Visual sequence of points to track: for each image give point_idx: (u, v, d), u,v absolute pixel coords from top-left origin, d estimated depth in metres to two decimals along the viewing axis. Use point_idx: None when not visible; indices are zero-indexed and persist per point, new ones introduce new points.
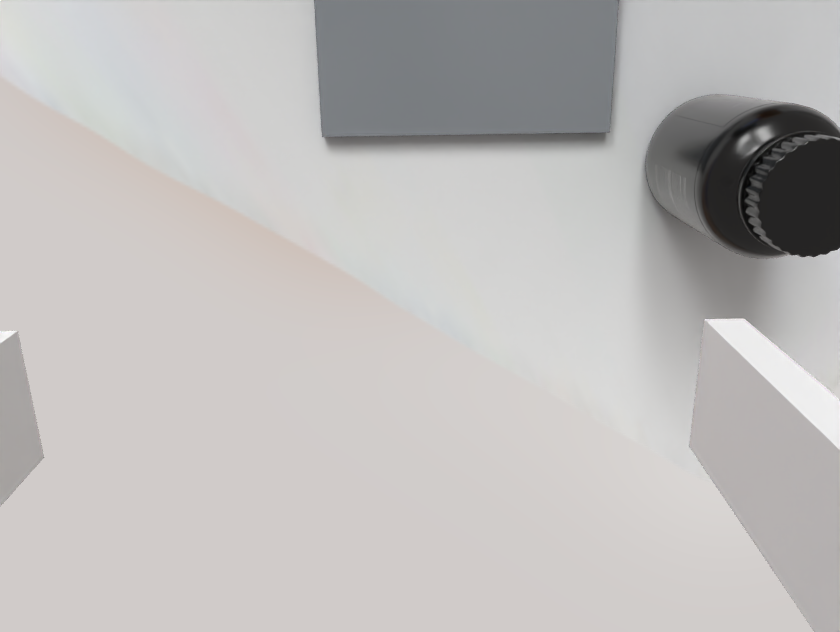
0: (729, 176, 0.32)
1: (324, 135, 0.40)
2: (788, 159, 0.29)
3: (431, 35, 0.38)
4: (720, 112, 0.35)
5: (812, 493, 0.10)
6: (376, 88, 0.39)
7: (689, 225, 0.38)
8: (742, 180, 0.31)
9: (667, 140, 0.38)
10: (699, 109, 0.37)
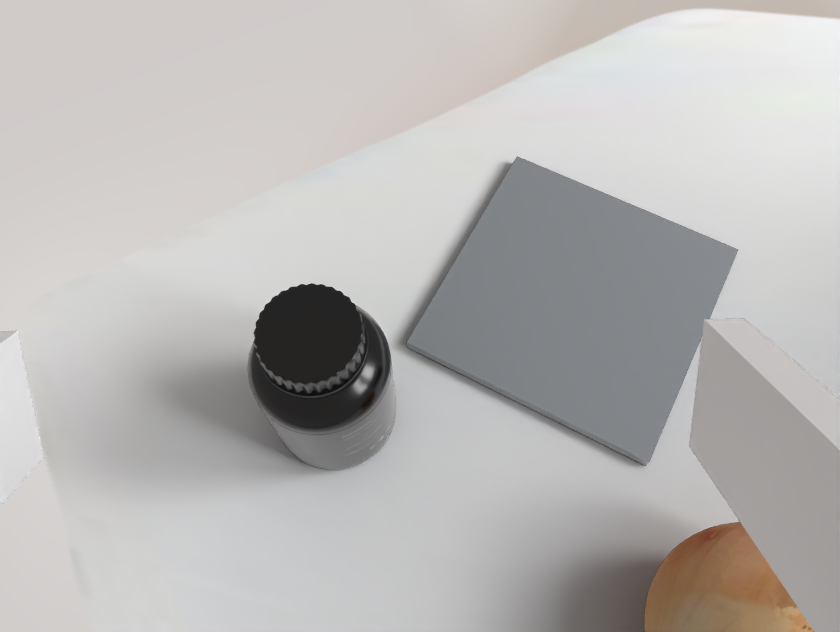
0: None
1: (516, 158, 0.50)
2: (356, 321, 0.33)
3: (548, 254, 0.47)
4: (392, 374, 0.38)
5: (812, 493, 0.10)
6: (531, 203, 0.48)
7: None
8: None
9: None
10: None
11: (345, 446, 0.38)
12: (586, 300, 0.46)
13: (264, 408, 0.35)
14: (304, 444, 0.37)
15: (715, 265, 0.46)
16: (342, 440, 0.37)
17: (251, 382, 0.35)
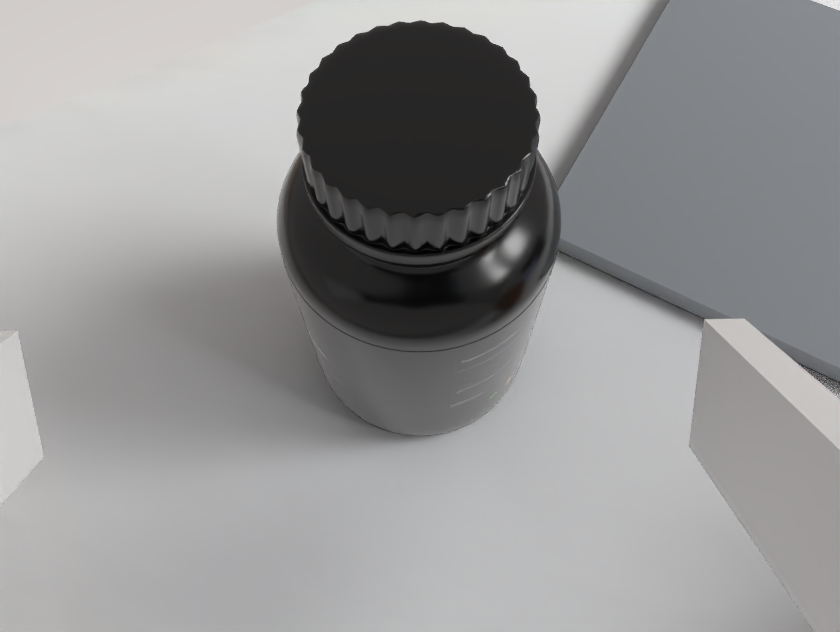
0: None
1: None
2: (522, 92, 0.15)
3: (760, 97, 0.29)
4: None
5: (812, 493, 0.10)
6: (724, 24, 0.30)
7: None
8: None
9: None
10: None
11: (457, 385, 0.20)
12: (832, 167, 0.27)
13: (311, 295, 0.17)
14: (382, 378, 0.19)
15: None
16: (459, 371, 0.19)
17: (285, 243, 0.17)
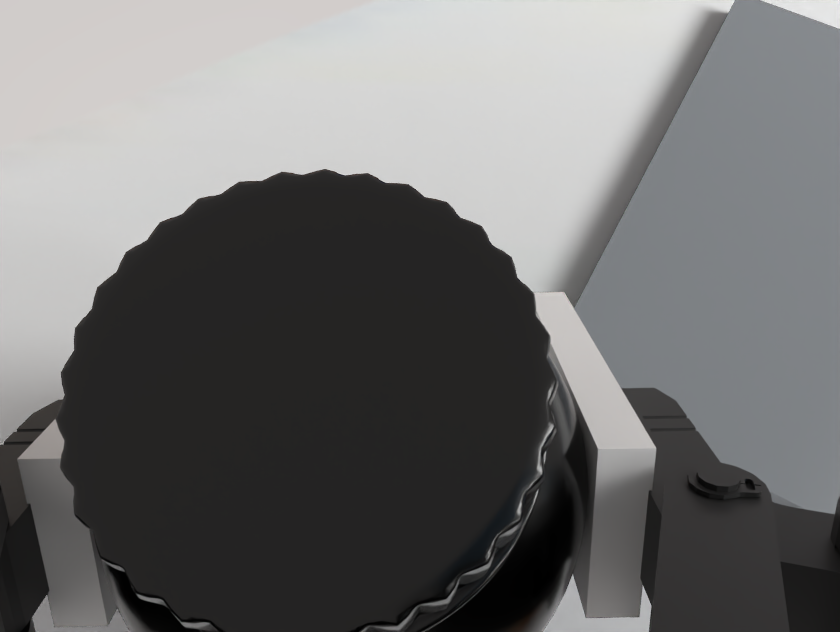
0: None
1: None
2: (522, 329, 0.07)
3: (838, 183, 0.21)
4: None
5: None
6: (783, 81, 0.23)
7: None
8: None
9: None
10: None
11: None
12: None
13: None
14: None
15: None
16: None
17: None
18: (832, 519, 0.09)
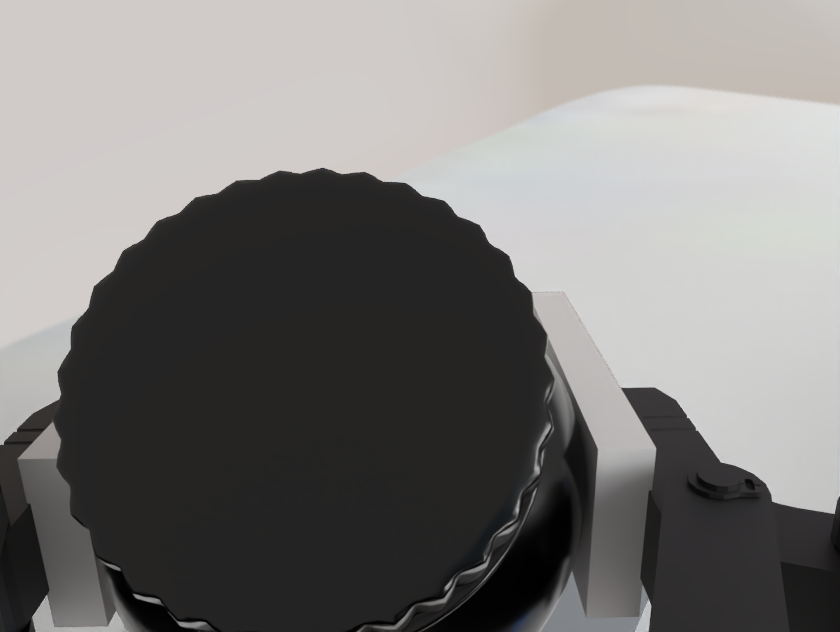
0: None
1: None
2: (519, 328, 0.07)
3: None
4: None
5: None
6: None
7: None
8: None
9: None
10: None
11: None
12: None
13: None
14: None
15: None
16: None
17: None
18: (832, 519, 0.09)
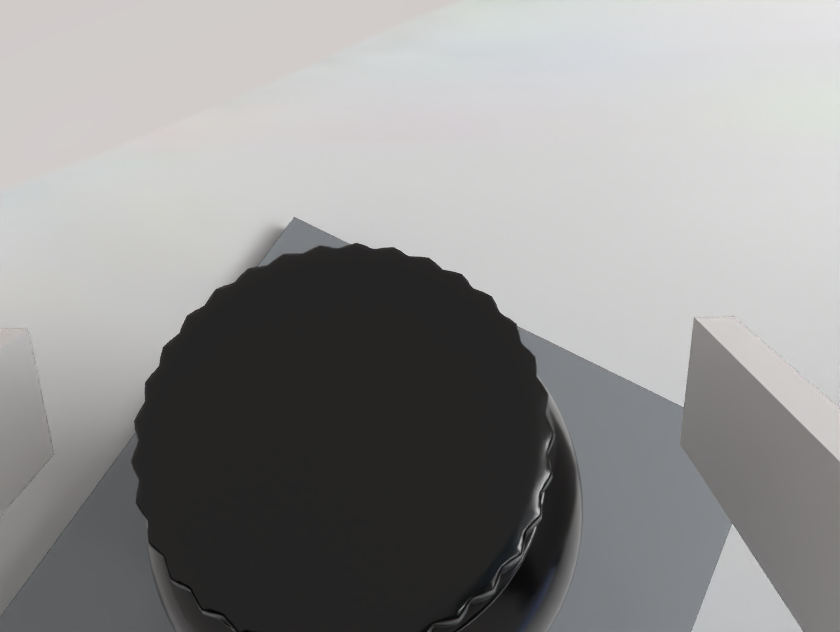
0: None
1: (293, 221, 0.24)
2: (524, 388, 0.09)
3: None
4: None
5: (798, 488, 0.11)
6: None
7: None
8: None
9: None
10: None
11: None
12: None
13: None
14: None
15: None
16: None
17: (152, 558, 0.11)
18: None
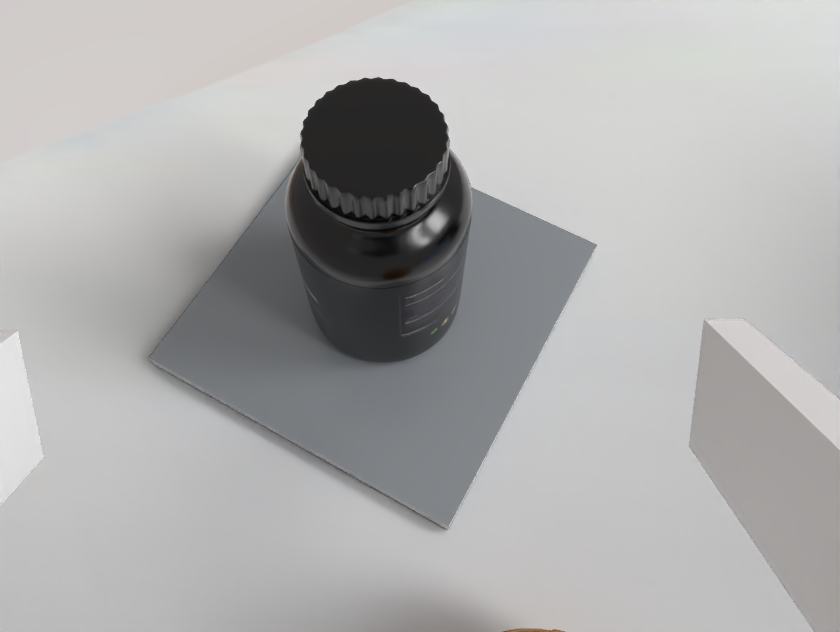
0: None
1: None
2: (439, 123, 0.24)
3: None
4: None
5: (812, 493, 0.10)
6: None
7: None
8: None
9: None
10: None
11: (405, 317, 0.29)
12: None
13: (307, 250, 0.26)
14: (353, 311, 0.28)
15: (565, 264, 0.36)
16: (405, 305, 0.28)
17: (290, 217, 0.27)
18: None
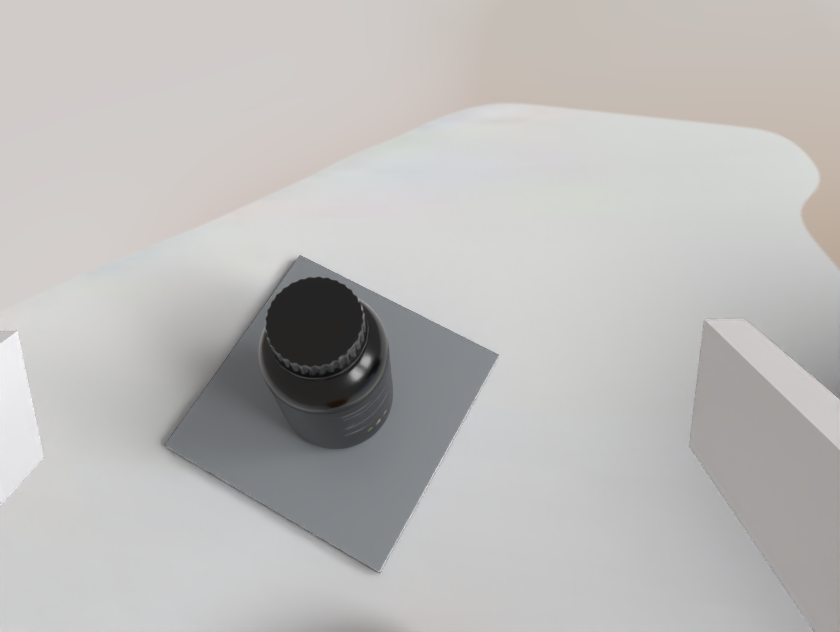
0: None
1: (299, 257, 0.52)
2: (357, 311, 0.36)
3: None
4: None
5: (812, 493, 0.10)
6: None
7: None
8: None
9: None
10: None
11: (344, 426, 0.41)
12: None
13: (272, 388, 0.39)
14: (307, 423, 0.41)
15: (474, 370, 0.48)
16: (342, 420, 0.40)
17: (261, 364, 0.39)
18: None
